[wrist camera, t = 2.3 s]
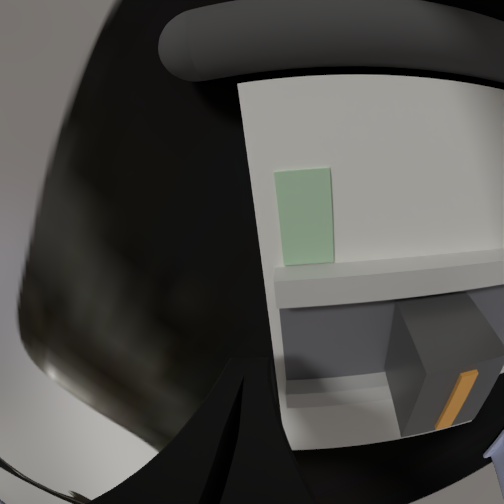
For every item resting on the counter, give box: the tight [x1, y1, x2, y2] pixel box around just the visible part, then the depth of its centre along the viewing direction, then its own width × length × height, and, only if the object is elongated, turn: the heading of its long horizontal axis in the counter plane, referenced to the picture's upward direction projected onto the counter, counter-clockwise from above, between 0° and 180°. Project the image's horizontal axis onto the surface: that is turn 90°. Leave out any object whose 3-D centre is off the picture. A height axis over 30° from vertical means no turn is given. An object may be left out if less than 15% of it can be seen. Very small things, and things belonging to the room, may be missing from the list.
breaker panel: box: [237, 75, 504, 450], centre depth 11 cm, size 18×12×2 cm, turn 7°
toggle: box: [384, 292, 504, 437], centre depth 9 cm, size 3×3×4 cm
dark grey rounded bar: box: [158, 0, 504, 83], centre depth 7 cm, size 2×16×2 cm, turn 98°
